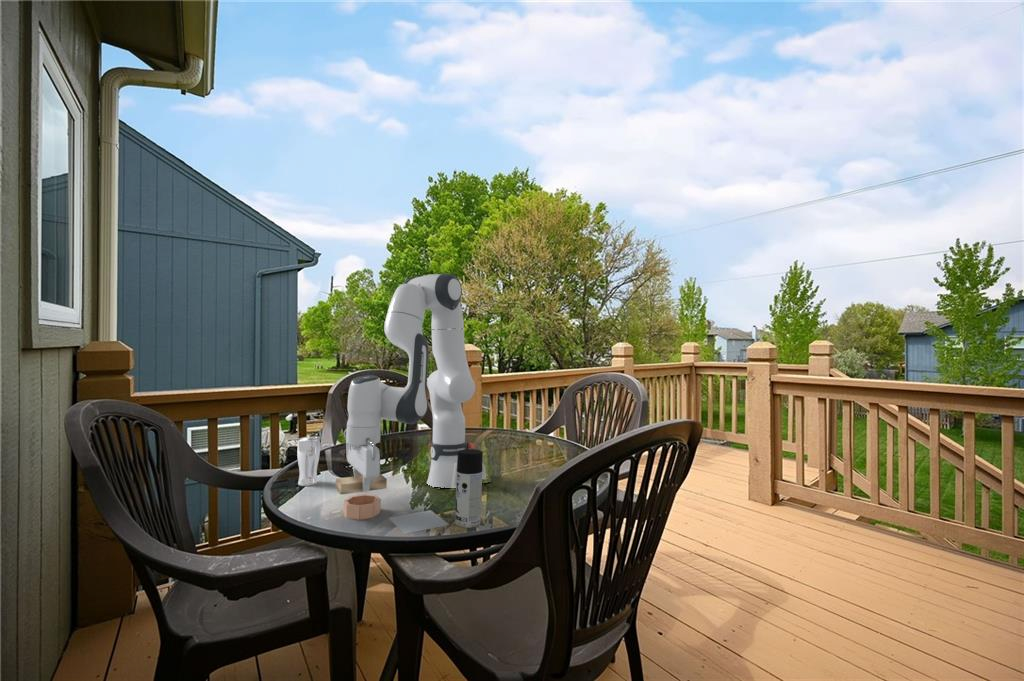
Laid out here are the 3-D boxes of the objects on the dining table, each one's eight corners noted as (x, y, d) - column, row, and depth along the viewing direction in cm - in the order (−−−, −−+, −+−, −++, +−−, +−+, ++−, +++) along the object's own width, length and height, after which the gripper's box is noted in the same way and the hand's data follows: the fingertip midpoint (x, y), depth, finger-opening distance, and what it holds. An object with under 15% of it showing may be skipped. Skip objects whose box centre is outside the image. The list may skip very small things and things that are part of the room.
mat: (430, 515, 131) (430, 510, 131) (449, 530, 121) (449, 524, 121) (388, 523, 125) (388, 517, 125) (404, 540, 115) (404, 533, 115)
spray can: (455, 523, 126) (457, 448, 126) (480, 522, 127) (482, 448, 127) (454, 533, 120) (456, 454, 120) (481, 533, 120) (483, 454, 120)
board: (379, 482, 134) (380, 473, 134) (386, 488, 128) (386, 478, 129) (335, 488, 127) (335, 478, 127) (340, 494, 122) (341, 484, 122)
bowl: (373, 510, 134) (374, 492, 134) (383, 520, 127) (383, 502, 127) (340, 516, 129) (341, 497, 129) (349, 527, 122) (349, 507, 122)
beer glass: (323, 480, 161) (324, 437, 161) (312, 487, 154) (313, 441, 154) (303, 479, 162) (304, 436, 162) (292, 486, 155) (293, 440, 155)
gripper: (387, 441, 121) (385, 495, 121) (365, 428, 138) (363, 475, 138) (362, 444, 118) (360, 499, 117) (342, 430, 135) (341, 478, 135)
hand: (361, 486), depth 128 cm, fingers closed on board, 6 cm apart
